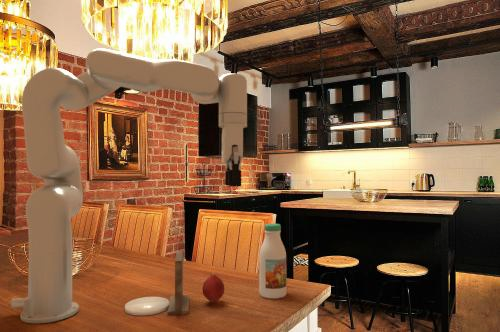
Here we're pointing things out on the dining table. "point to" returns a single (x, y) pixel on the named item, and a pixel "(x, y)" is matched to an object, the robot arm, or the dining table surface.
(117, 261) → the dining table surface
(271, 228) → the milk bottle
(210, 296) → the onion
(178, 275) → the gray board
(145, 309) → the coaster
